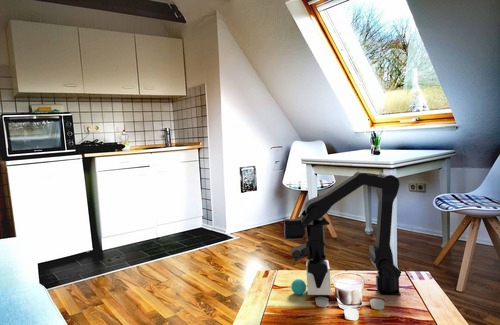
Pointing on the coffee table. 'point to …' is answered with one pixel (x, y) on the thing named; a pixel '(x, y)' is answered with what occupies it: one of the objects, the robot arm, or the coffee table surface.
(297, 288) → the ball
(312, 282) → the white upright block
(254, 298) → the coffee table surface
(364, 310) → the coffee table surface
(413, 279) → the coffee table surface
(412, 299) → the coffee table surface
